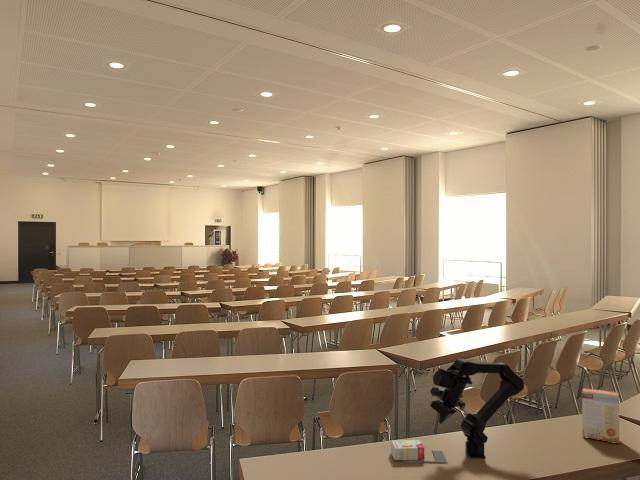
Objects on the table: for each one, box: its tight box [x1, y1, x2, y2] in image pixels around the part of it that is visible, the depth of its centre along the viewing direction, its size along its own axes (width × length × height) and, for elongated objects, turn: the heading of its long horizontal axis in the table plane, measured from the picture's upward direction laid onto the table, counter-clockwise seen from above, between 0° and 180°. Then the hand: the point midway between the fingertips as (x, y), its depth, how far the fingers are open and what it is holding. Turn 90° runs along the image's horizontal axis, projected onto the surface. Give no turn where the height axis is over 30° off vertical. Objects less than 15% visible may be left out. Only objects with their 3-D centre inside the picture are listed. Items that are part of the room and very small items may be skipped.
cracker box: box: [581, 388, 620, 444], centre depth 218 cm, size 14×6×21 cm, turn 58°
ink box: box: [390, 439, 425, 461], centre depth 199 cm, size 9×5×12 cm
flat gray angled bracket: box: [402, 450, 448, 464], centre depth 199 cm, size 17×11×1 cm, turn 87°
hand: (440, 423), depth 203 cm, fingers closed
